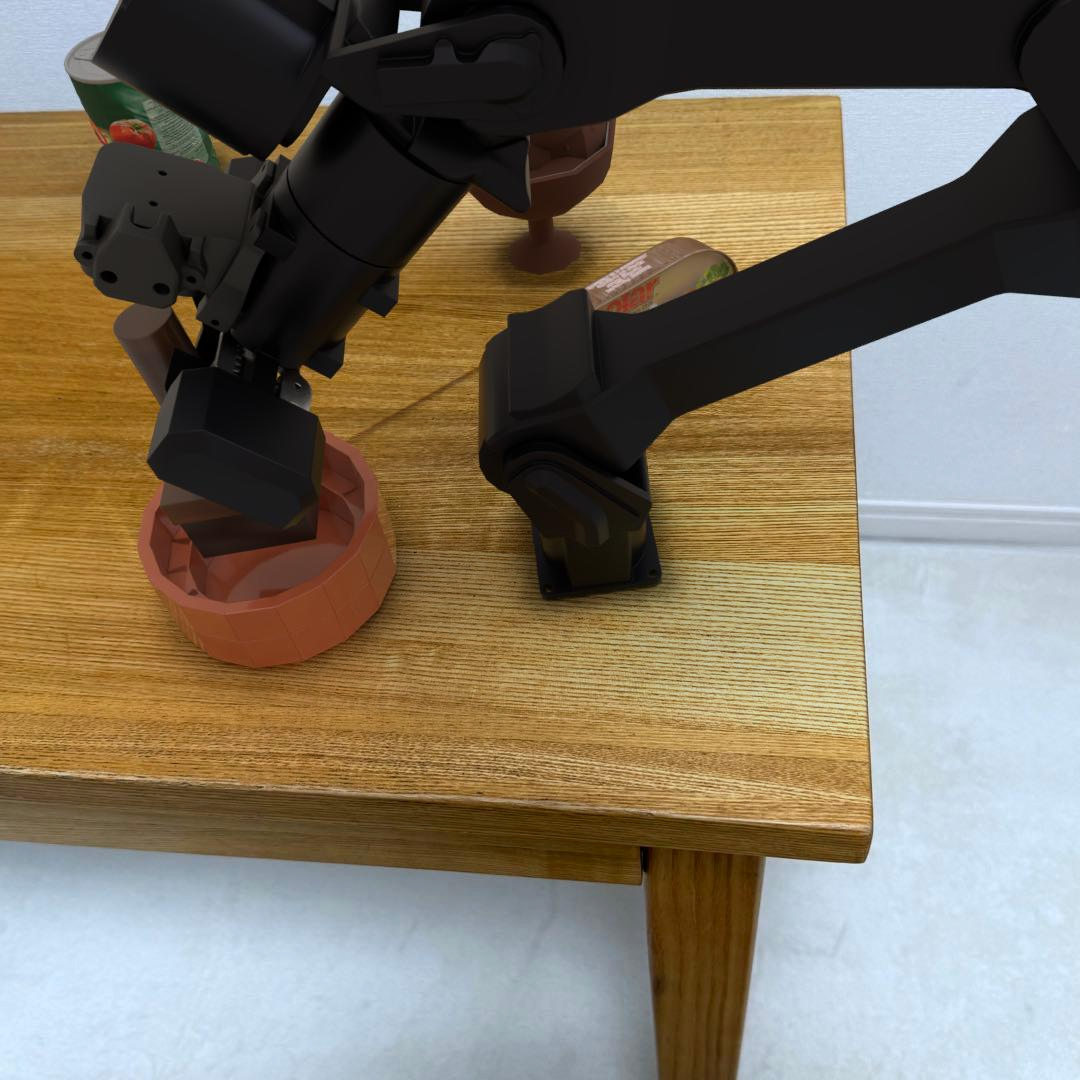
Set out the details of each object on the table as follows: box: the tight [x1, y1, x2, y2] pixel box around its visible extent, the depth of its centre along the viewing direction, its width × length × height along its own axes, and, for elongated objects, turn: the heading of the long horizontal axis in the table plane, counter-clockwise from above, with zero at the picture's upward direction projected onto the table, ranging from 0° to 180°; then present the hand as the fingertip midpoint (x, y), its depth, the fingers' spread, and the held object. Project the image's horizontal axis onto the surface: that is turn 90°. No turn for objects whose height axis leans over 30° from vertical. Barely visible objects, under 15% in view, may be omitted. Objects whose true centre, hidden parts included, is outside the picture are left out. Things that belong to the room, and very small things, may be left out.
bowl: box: [136, 429, 398, 669], centre depth 57 cm, size 12×12×6 cm
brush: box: [112, 303, 319, 558], centre depth 50 cm, size 6×4×14 cm
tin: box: [581, 236, 739, 313], centre depth 63 cm, size 15×3×8 cm, turn 126°
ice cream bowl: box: [468, 118, 617, 276], centre depth 69 cm, size 11×11×15 cm
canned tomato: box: [63, 30, 222, 171], centre depth 81 cm, size 8×8×11 cm
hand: (177, 437), depth 51 cm, fingers closed on brush, 2 cm apart
